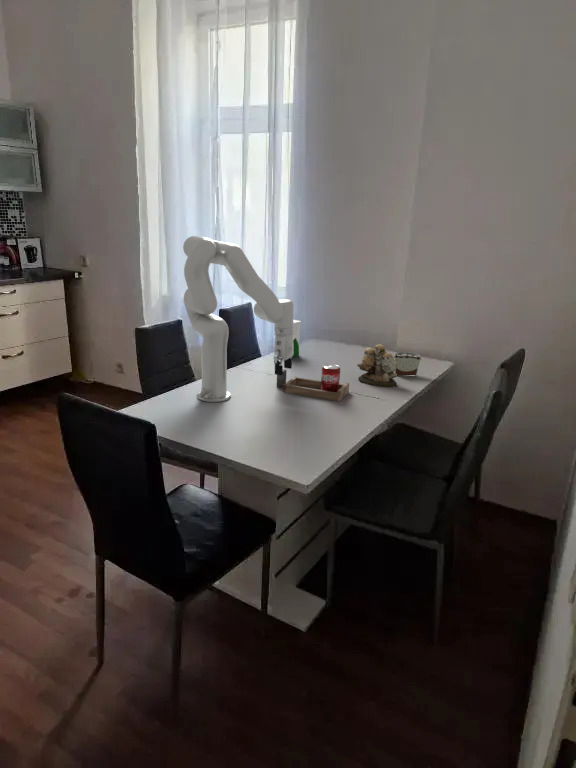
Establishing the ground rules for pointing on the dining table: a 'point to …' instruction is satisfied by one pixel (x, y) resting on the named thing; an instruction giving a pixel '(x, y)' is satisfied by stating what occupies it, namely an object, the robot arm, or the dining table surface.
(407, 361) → the food container
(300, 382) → the wooden tray frame
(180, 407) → the dining table surface
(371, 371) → the owl figurine
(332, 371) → the soda can
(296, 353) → the milk carton
